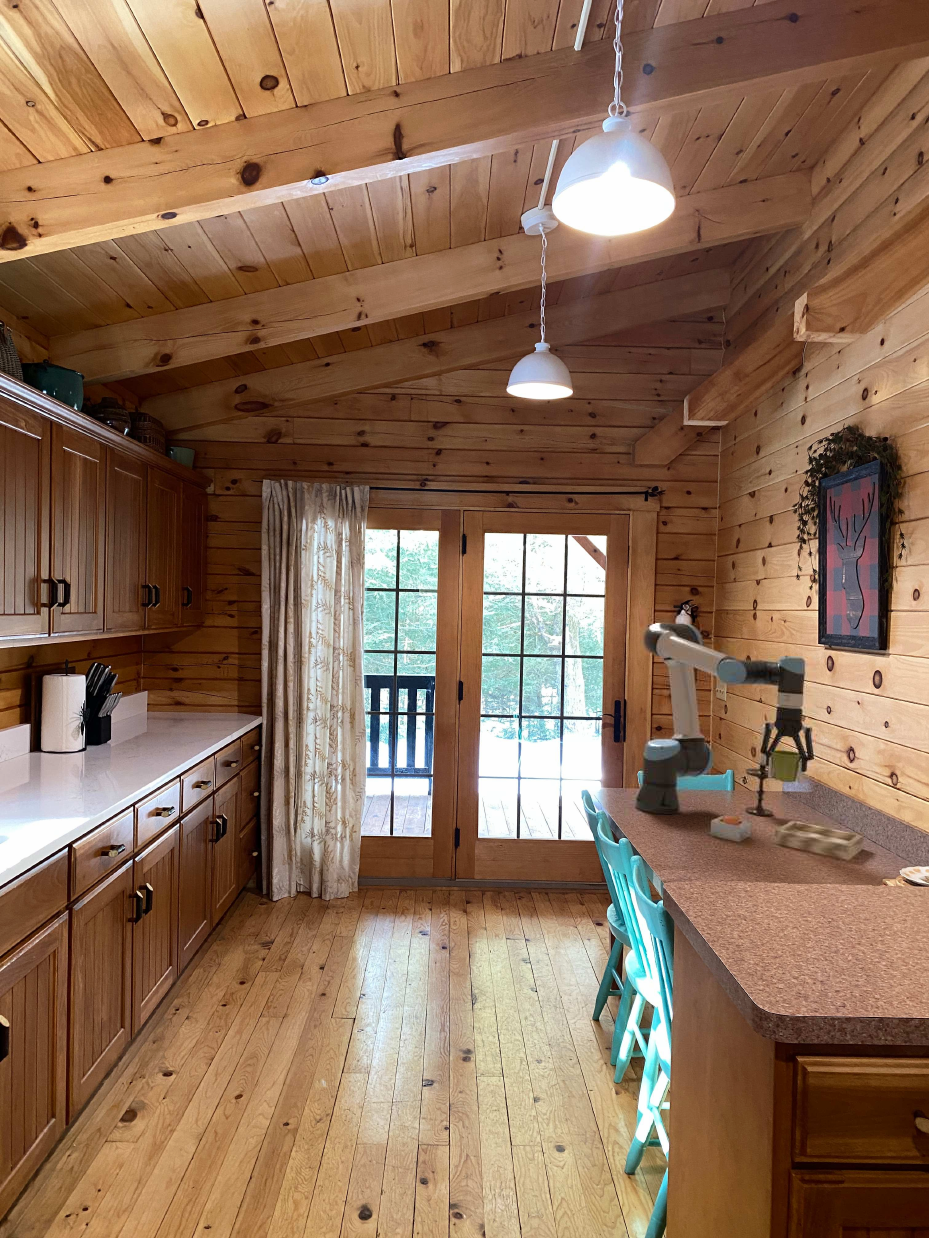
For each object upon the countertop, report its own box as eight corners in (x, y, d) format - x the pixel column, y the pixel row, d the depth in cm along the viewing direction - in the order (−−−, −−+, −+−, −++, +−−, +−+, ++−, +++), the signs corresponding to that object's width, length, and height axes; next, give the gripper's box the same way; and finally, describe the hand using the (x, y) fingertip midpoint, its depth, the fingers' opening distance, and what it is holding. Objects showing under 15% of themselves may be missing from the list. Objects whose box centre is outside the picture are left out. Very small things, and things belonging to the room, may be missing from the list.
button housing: (710, 835, 258) (711, 820, 258) (720, 829, 265) (722, 815, 265) (739, 841, 253) (740, 827, 252) (749, 836, 260) (750, 822, 260)
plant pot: (803, 784, 255) (805, 756, 255) (771, 781, 257) (773, 753, 257) (798, 779, 264) (800, 751, 264) (766, 776, 266) (768, 749, 266)
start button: (719, 826, 258) (720, 817, 258) (725, 824, 262) (726, 814, 262) (735, 830, 255) (736, 820, 255) (741, 827, 259) (742, 818, 259)
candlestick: (746, 815, 287) (754, 713, 287) (739, 807, 298) (747, 709, 297) (779, 818, 286) (787, 716, 285) (771, 810, 297) (779, 712, 296)
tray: (774, 843, 254) (775, 829, 254) (791, 833, 267) (792, 820, 267) (848, 860, 241) (849, 846, 241) (862, 848, 255) (863, 835, 255)
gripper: (751, 703, 264) (747, 775, 264) (821, 711, 251) (817, 787, 251) (759, 702, 270) (755, 772, 270) (828, 710, 257) (824, 784, 257)
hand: (785, 779), depth 260 cm, fingers closed on plant pot, 8 cm apart
